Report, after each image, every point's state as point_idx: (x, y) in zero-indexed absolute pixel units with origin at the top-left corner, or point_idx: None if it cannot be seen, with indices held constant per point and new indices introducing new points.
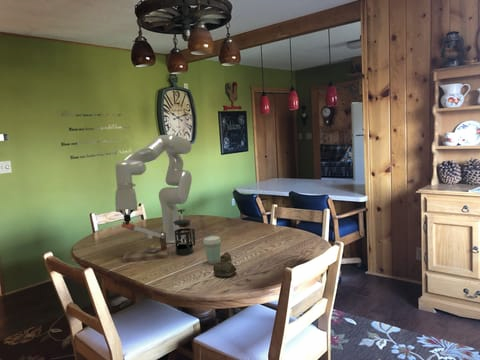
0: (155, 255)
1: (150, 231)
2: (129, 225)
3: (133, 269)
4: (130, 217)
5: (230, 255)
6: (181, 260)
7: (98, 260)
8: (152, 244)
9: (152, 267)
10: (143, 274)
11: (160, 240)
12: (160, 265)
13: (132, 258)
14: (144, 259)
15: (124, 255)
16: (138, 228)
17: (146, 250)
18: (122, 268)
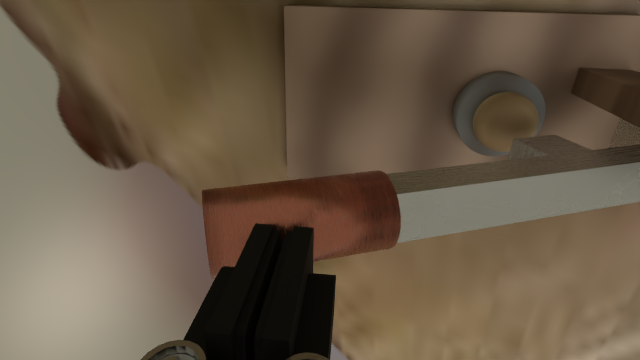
0: None
1: (575, 209)
2: (320, 259)
3: (359, 281)
4: (332, 314)
5: None
6: (636, 256)
7: (117, 57)
8: (523, 133)
9: (454, 291)
10: (405, 347)
11: (625, 117)
12: (499, 281)
13: None
14: None
15: (288, 110)
16: (439, 230)
17: (455, 45)
18: None
